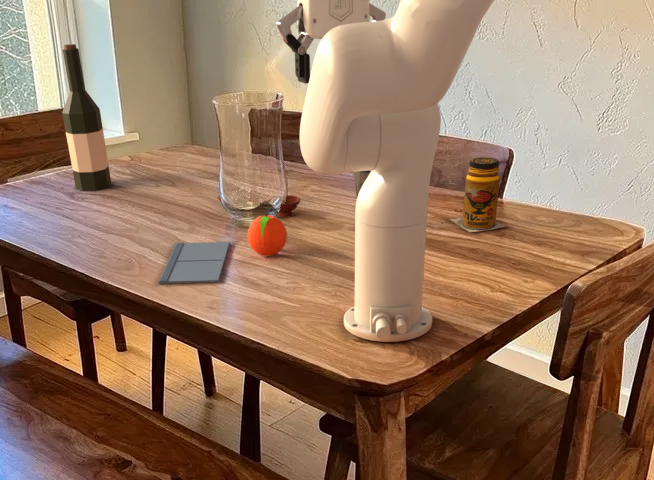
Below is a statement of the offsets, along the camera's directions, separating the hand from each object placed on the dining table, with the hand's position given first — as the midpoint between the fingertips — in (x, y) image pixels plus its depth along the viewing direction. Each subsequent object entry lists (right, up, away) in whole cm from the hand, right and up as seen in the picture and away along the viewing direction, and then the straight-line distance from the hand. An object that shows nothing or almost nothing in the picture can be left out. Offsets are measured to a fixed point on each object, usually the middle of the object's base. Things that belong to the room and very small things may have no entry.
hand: (332, 78), depth 120 cm
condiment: (+29, -15, +29) cm, 44 cm away
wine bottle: (-52, +4, +65) cm, 83 cm away
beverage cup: (+9, -15, +29) cm, 34 cm away
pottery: (-12, -8, +43) cm, 45 cm away
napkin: (-23, -24, +18) cm, 38 cm away
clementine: (-10, -23, +19) cm, 32 cm away
